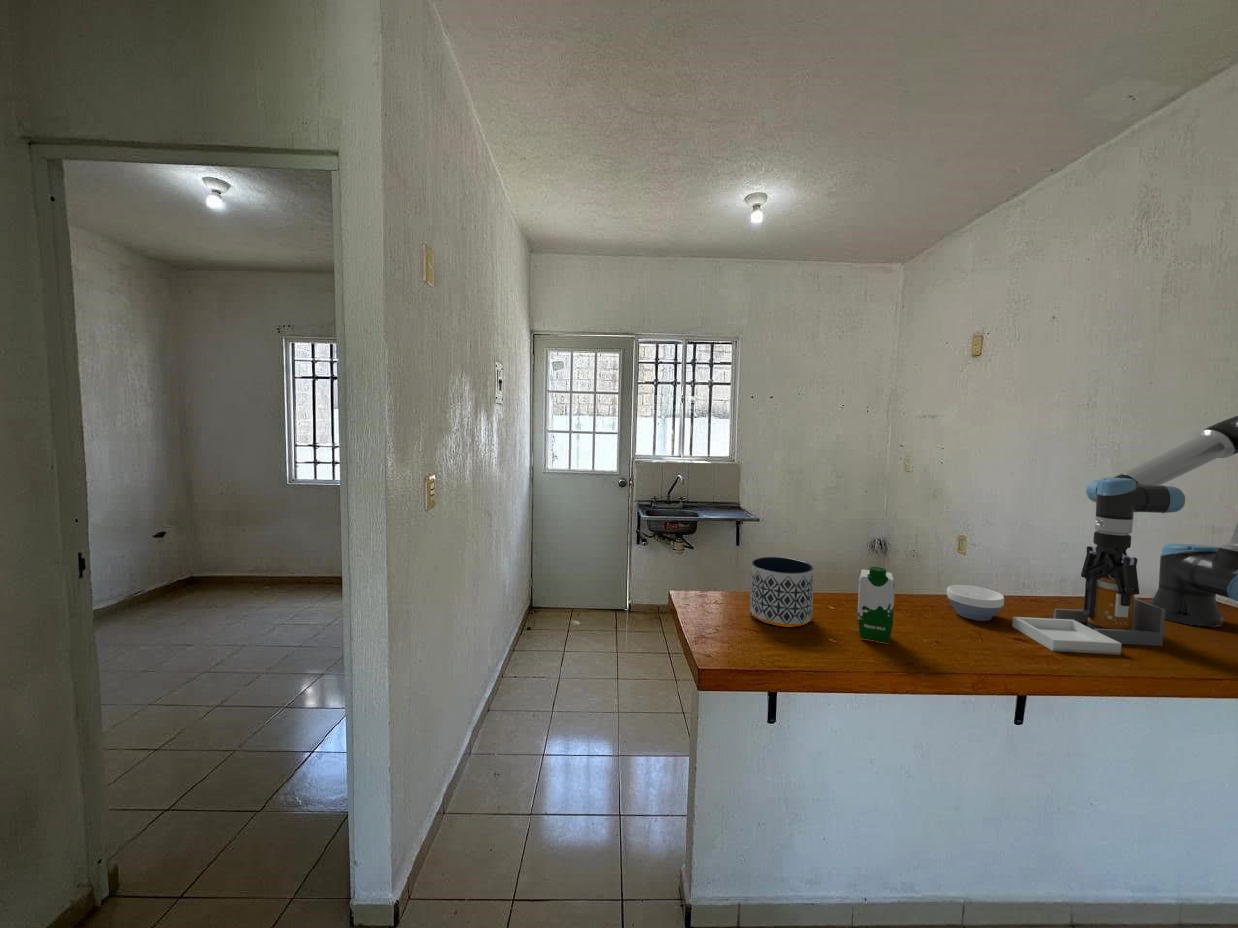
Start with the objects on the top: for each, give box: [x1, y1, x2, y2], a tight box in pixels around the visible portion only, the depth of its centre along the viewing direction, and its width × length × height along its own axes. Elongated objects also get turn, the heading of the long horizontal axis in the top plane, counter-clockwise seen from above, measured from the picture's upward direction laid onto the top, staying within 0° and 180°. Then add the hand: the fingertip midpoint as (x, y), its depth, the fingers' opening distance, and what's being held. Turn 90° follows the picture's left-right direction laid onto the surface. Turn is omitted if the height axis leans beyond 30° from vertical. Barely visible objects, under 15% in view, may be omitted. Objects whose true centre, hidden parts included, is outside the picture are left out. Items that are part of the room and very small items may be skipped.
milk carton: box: [857, 566, 896, 644], centre depth 137 cm, size 9×9×20 cm
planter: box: [749, 556, 815, 625], centre depth 152 cm, size 18×18×16 cm
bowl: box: [946, 584, 1005, 622], centre depth 154 cm, size 14×14×8 cm
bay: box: [1052, 597, 1166, 646], centre depth 142 cm, size 16×16×10 cm
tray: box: [1012, 616, 1123, 656], centre depth 137 cm, size 16×16×3 cm
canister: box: [1081, 562, 1136, 630], centre depth 142 cm, size 9×11×20 cm
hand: (1106, 609), depth 142 cm, fingers closed on canister, 9 cm apart
